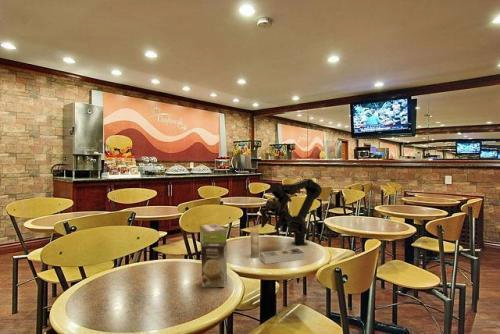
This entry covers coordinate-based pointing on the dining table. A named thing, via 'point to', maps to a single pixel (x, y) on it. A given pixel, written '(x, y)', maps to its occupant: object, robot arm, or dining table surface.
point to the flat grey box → (282, 256)
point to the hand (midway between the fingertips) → (268, 228)
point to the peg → (254, 244)
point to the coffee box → (214, 264)
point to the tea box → (212, 234)
